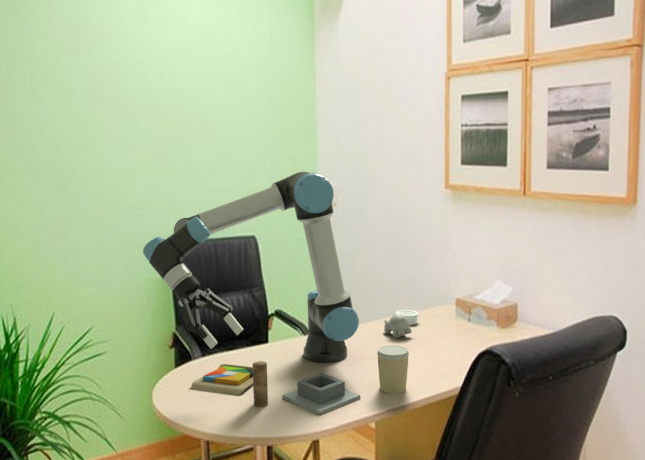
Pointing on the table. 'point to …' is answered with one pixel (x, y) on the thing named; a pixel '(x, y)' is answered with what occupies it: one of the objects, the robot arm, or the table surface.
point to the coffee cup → (392, 368)
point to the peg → (260, 384)
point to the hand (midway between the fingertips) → (227, 338)
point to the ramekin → (409, 316)
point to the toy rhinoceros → (397, 325)
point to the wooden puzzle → (226, 380)
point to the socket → (321, 394)
